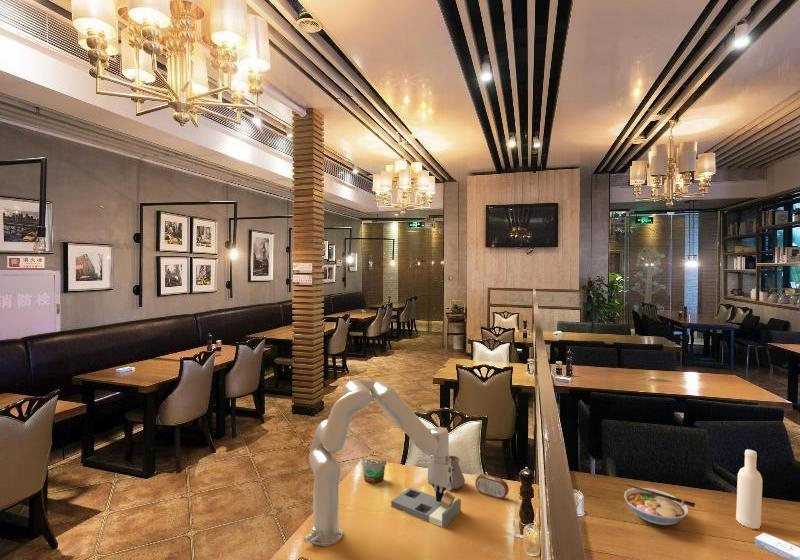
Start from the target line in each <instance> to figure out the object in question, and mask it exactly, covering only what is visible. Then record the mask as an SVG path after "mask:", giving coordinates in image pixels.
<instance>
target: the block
mask: <svg viewBox="0 0 800 560" xmlns="http://www.w3.org/2000/svg"><path fill="white" fill-rule="evenodd" d="M454 502H455V495H453V494H452V493H450V492H449V491H445V492H444V495H443V497H442V499H441V502H440V504H441V505H443V506H444V507H446V508H447V509H448V508H449V507H450V506H451V505H452V504H453V503H454Z"/></svg>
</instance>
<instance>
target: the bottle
mask: <svg viewBox="0 0 800 560" xmlns="http://www.w3.org/2000/svg"><path fill="white" fill-rule="evenodd" d="M757 457H758V454H757V451H755V450H753V449H745V451H744V466H743V467H741V468H740V469H739V471H738V473H737V485H736V508H735V509H736V512H735V521H736V520H737V521H738V522H739V523H741V524H742V525H745V526H747V527H751V528H760V526H761V527H762V507H763V506H762V503H763V502H762V501H763V499H762V498H763V477H762V474H761V473H760V471H758V469H757ZM760 529H761V528H760Z"/></svg>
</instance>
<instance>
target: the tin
mask: <svg viewBox="0 0 800 560" xmlns="http://www.w3.org/2000/svg"><path fill="white" fill-rule="evenodd" d="M475 487H476V489H477V490H478V491H479V492H480V493H481V494H483V495H487V496H490V497H493V498H496V499H500V500H501V499H504V498H505V497H506V496H507V495H508V494H509V489H510V488H509V486H508V484H507V482H506V481H505V480H504V479H502V478H500V477H496V476H493V475H489V474H485V473H481V474H479V475H478V476H477V477H476V478H475Z"/></svg>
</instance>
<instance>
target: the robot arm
mask: <svg viewBox="0 0 800 560" xmlns="http://www.w3.org/2000/svg"><path fill="white" fill-rule="evenodd" d="M371 402H376V403H377V405H378V406H380V407H381V409H382V411H384V412H385V413H386V414H387V416H388V417H389V418H390V420H391V421H392V422H393V423H394V424H395V425H396V426H397V427H398V428H399V430H401V431H403V432H404V433H405V434H406V436H408V437H409V438H410V440H411V442H412V444H413V445H414V446H415V447H416V448H417V449H418V450H420V451H421V453H422V454H424V455H426V456H430V459H429V461H428V467H427V483H428V484H429V485H430V486H432V487H433V490H434V492H435V497H436V501H437V502H441V499H442V497H443V495H444V494H445V492H446V491H451V490H452V489H451V484H452V483H453V476H452V467H451V462H450V461H451V458H449V456H450V455H449V450H450V449H449V448H450V446H449V445H450V442H449V440H450V438H449V434H450V433H449V430H448V429H447V428H445V427H441V426H440V427H439V426H438V427H434V428H428V427H427V426H426V425H425V423H424V422H423V421H421V419H420V418H419V417H418V416H417V414H416V413H415V412H414V410H413V409H412V408H410V406H409V405H408V404H407V403H406V402H405V400H404V399H403V398H402V397H401V396H400V395H399V393H398V392H397V391H396V390H395V388H393V386H391V385H390V384H388V383H387V382H385V381H381V380H364V379H363V380H362V379H354V380H350V381H348V382H347V383H346V384H345V385H344V387H343V396H342V397H340V398H339V399H338V400H336V401H335V403H334V404H333V405H332V407H331V409H330V413H329V415H328V418H327V419H324V420H322V421H321V422H320V423H319V424H318V426H317V428H316V429H315V433H314V436H313V440H312V444H311V447H310V450H309V455H308V463H309V465H310V467H311V469H312V472H313V489H312V496H313V497H312V498H313V499H312V504H313V506H312V507H313V509H312V510H313V511H312V512H313V513H312V514H313V515H312V516H313V517H312V518H313V520H312V521H313V526H312V527H311V528H310V529H311V530H310V532H309V534H308V535H305V537H303V541H304V543H306V544H307V543H308V542H311V543H312V544H313V545H315V546H318V547H319V546H320V547H329V546H332V545H335V544H337V543H339V542H340V541H341V540H342V538H343V536H344V533H343V532H344V531H343V528H342V527H341V526H339V525H340V524H339V521H340V520H339V519H340V518H339V510H340V509H339V508H340V507H339V503H340V502H339V495H340V494H339V484H340V475H341V466H340V464H339V461H338V459H337V458H336V456H335V453H338V452H340V451H341V450H342V449H343V448H344V445H345V443H346V440H347V435H348V432H349V429H350V424H351V421H352V419H353V416H354V415H355V414H357V412H359V411H361V410H363V409H365V408H367V407H368V406H369V405H370V403H371Z"/></svg>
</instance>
